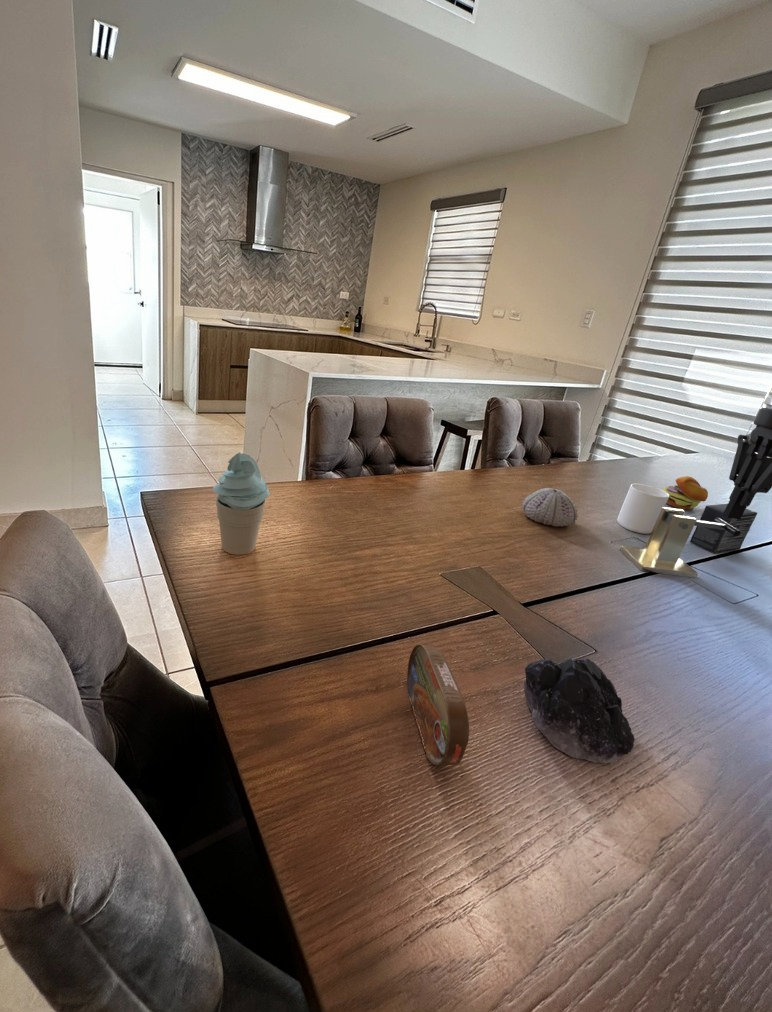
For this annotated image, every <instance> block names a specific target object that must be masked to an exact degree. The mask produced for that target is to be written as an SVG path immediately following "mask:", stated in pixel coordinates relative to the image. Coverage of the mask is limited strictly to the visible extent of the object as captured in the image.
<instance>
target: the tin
mask: <svg viewBox="0 0 772 1012" xmlns="http://www.w3.org/2000/svg"><path fill="white" fill-rule="evenodd" d="M407 663H408V664H407V672H406V689H407V695H408V694H409V696H410V698H411V703H412V706H414V710H415V711H414V712H415V714H416V716H415V717H416V719H417V722H418V724H419V726H420V730H421V734H422V737H423V739H424V741H423V742H424V746H425V747H426V748H425V750H426V751H424V753H425V752H426V754H425V756H426V757H427V758H426V759H428V761H429V762H430V764H432V765H433V766H439V765H442V766H456V765H458V764H459V763H460V762H461V761H462V759H463V757H464V755H465V752H466V750H467V746H468V744H469V738H470V722H469V714H468V709H467V705H466V703H465V700H464V698H463V695H462V693H461V690H460V688H459V685H458V683H457V682H456V679H455V677H454V674H453V671H452V669H451V667H450V665H449V663H448V661H447V658H446V656H445V654H444V652H443V651H442V650H441V648H438V647H436V646H430V645H423V644H416V645H415V646H414V647H413V648H412V649H411V653H410V654H409V659H408V662H407Z"/></svg>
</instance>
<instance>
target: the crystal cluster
mask: <svg viewBox="0 0 772 1012" xmlns="http://www.w3.org/2000/svg"><path fill="white" fill-rule="evenodd" d="M524 673H525V679H524V682H523V693H524V696H525V699H524V700H525V705H526V707H528V709H529V708H530V709H529V710H531V711H530V713H531V715H532V716H531V719H532V720H533V722H534V726H535V727H536V728H537V729H538V730H539V731H540V732H541V733H542V735H543V736H544V737H545V738H547V740H548V742H549V743H550V744H551V745H552V746H553V747H554V748H555V749H557V750H559V751H560V752H562V753H564V754H566V755H567V756H569V757H570V758H573V759H581V760H586V761H589V762H591V763H594V764H596V763H601V764H610V763H613V764H615V763H616V762H617V761H620V760H621V759H622V758H623V757H624V756H625V755H628V754H629V753H631V752H632V750H633V749H634V747H635V744H634V743H635V735H634V734H633V732H632V728H631V727H630V722H629V720H628V719H627V717H626V716H625V715H624V713H623V701H622V697H620V696H619V695H618V691H617V689H616V688H615V685H614V684H613V682H612V681H611V680H610V679H609V678H607V675H606V674H605V673H604V671H603V670H602V669H601V667H600V666H598V665H597V664H596V663H595V662H594V661H592V660H590V659H589V658H581V659H577V658H573V657H572V658H569V659H566V660H564V661H562V662H560V663H558V662H555V661H553V660H552V659H550V658H541V659H539V660H535V661H533V662H532V661H531V662H530V663H529V664H528V665H526V666H525V667H524ZM616 760H617V761H616Z"/></svg>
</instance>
